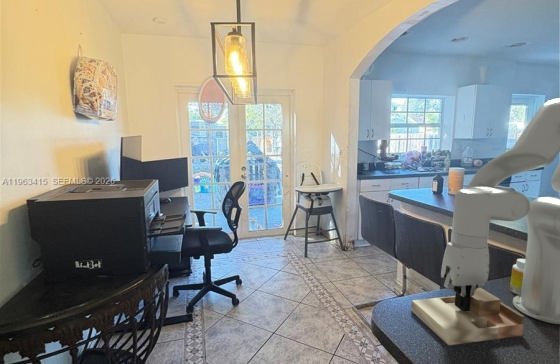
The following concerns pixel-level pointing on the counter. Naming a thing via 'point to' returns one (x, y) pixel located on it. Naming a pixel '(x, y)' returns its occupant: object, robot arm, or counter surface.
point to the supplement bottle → (517, 276)
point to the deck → (466, 321)
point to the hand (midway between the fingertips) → (462, 308)
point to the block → (484, 303)
